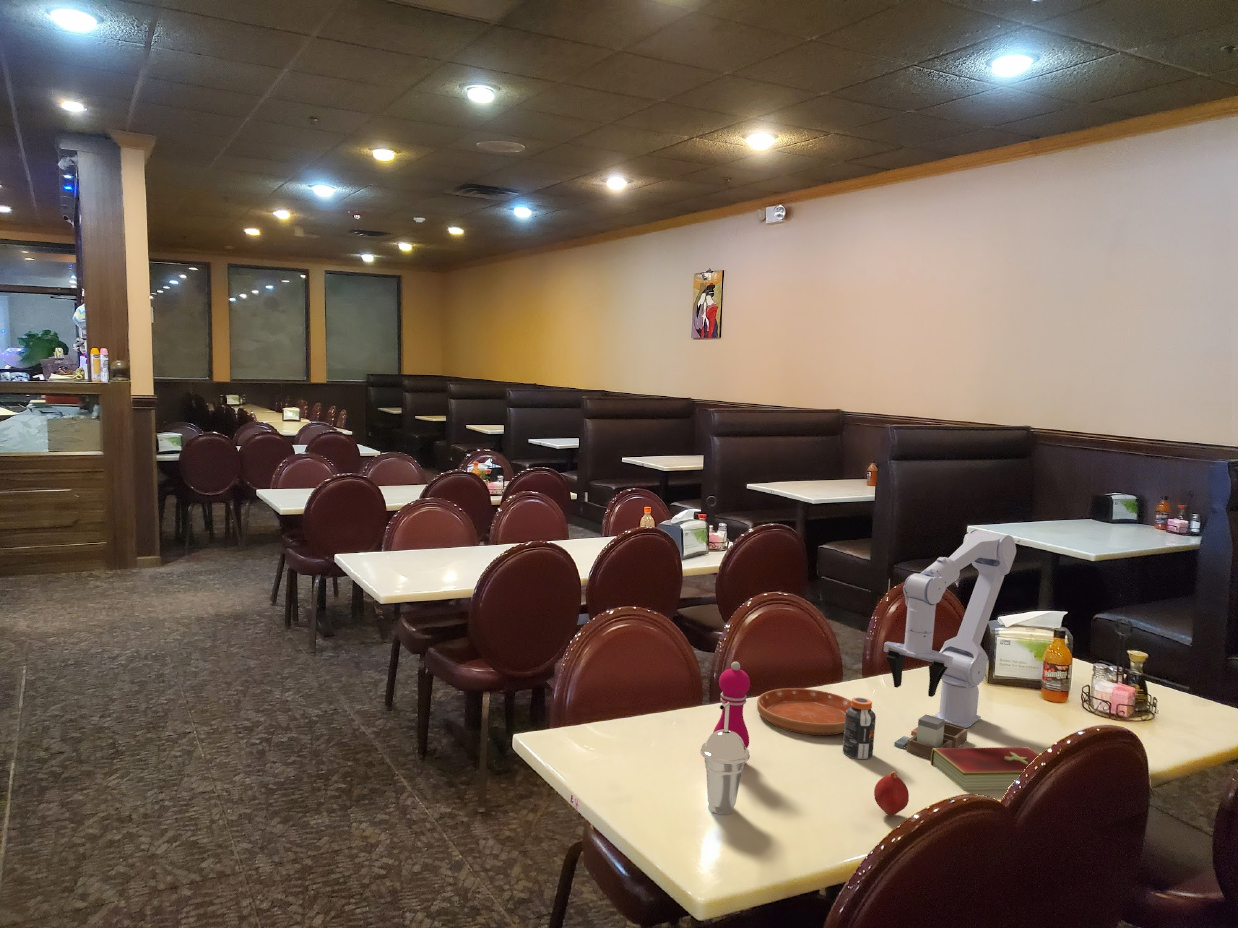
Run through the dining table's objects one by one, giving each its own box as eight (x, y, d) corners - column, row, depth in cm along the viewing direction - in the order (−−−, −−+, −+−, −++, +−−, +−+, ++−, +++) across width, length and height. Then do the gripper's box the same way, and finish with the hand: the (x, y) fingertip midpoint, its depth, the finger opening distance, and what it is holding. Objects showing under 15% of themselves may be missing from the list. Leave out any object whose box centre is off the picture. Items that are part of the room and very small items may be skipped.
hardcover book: (930, 766, 180) (931, 745, 180) (1025, 764, 183) (1027, 744, 183) (962, 793, 168) (964, 771, 168) (1063, 791, 172) (1065, 769, 171)
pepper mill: (750, 757, 178) (757, 659, 176) (743, 772, 171) (750, 669, 169) (715, 751, 180) (721, 653, 178) (706, 764, 173) (713, 663, 172)
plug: (922, 746, 189) (925, 714, 188) (941, 752, 186) (944, 719, 186) (915, 751, 186) (918, 718, 185) (934, 757, 183) (937, 724, 183)
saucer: (758, 734, 191) (759, 717, 191) (754, 698, 214) (755, 683, 213) (868, 745, 189) (869, 728, 188) (852, 707, 211) (853, 692, 211)
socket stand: (921, 727, 200) (922, 716, 199) (966, 740, 193) (967, 729, 193) (892, 746, 188) (893, 735, 187) (939, 761, 181) (940, 749, 181)
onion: (867, 806, 159) (871, 763, 159) (899, 807, 160) (902, 763, 159) (879, 822, 153) (883, 777, 153) (912, 823, 154) (916, 778, 153)
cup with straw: (755, 810, 156) (763, 697, 154) (723, 825, 149) (730, 709, 148) (717, 792, 162) (725, 684, 160) (684, 807, 155) (691, 694, 154)
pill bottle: (873, 761, 179) (878, 706, 178) (843, 757, 181) (847, 702, 180) (871, 750, 185) (875, 696, 184) (841, 746, 186) (846, 693, 185)
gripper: (880, 625, 196) (875, 686, 197) (946, 640, 187) (940, 704, 188) (893, 620, 201) (888, 679, 202) (958, 634, 192) (952, 696, 193)
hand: (914, 690), depth 195 cm, fingers open, 7 cm apart
